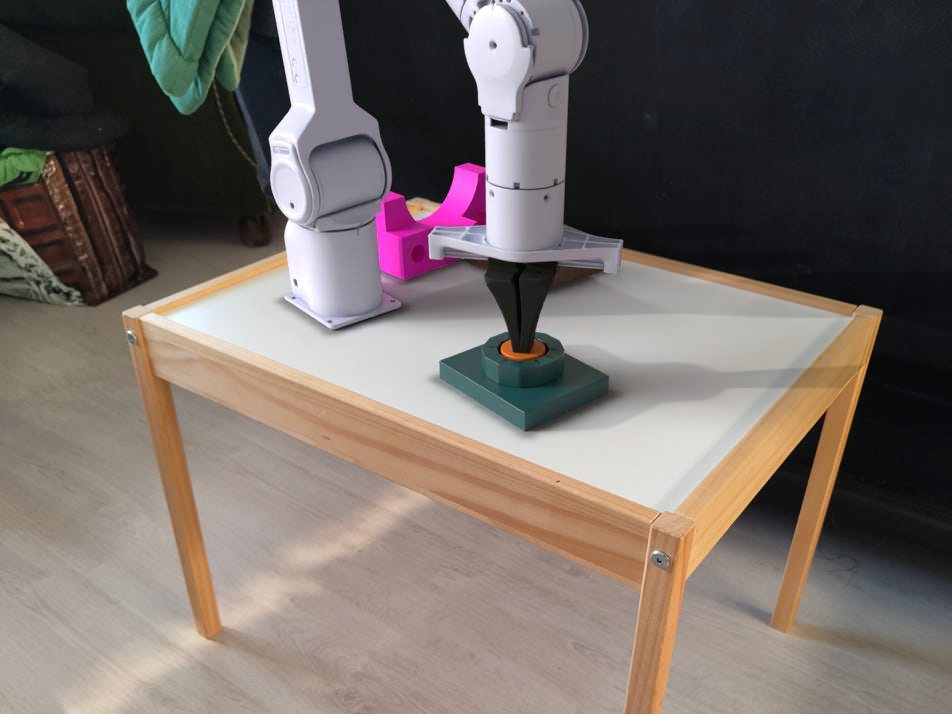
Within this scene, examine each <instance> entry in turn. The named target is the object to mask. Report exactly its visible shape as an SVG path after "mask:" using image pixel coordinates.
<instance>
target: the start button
mask: <svg viewBox="0 0 952 714" xmlns="http://www.w3.org/2000/svg"><path fill="white" fill-rule="evenodd" d="M501 355H502V356H504V357H506V358H507V359H512V360H517V361H526V360H536V359H538V358H541V357H543V356H545V346H544V344H543V343H541V342H540V341H538V340H535V339H534V345H533V347H532V349H531V351H530V353H529V354H524V353H514V352H512V345H511V340H508V341H506V342H505V343H503V344H502V346H501Z"/></svg>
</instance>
